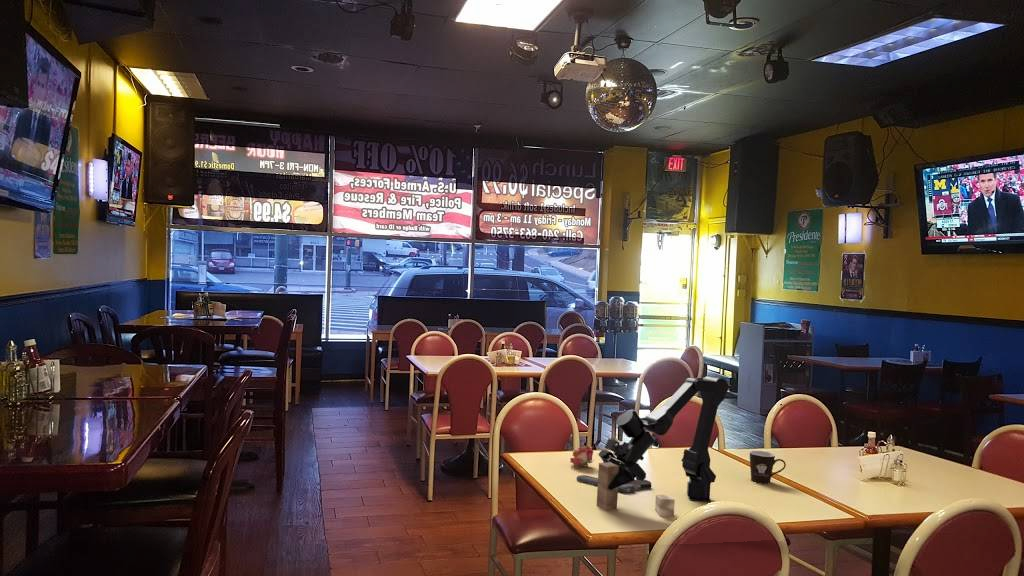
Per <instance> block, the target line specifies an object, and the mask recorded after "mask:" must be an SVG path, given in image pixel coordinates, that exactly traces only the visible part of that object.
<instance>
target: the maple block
mask: <svg viewBox="0 0 1024 576" xmlns="http://www.w3.org/2000/svg"><path fill="white" fill-rule="evenodd" d="M675 500H676V499H675V498H674V497H673V496H671V495H670V494H655V505H654V506H655V507H654V512H655V511H656V512H655V513H656V514H657V516H659V517H675Z"/></svg>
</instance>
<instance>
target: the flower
mask: <svg viewBox="0 0 1024 576" xmlns="http://www.w3.org/2000/svg"><path fill="white" fill-rule="evenodd" d="M593 454H594V449H593V446H591V447H590V446H588V445H583V446H582V447H579V448H577V449H574V451H572V457H570V461H569V462H570V463H572V465H573V466H574V465H575V466H574V467H582V466H585V467H586V469H589V468H590V466H589V464H592V463H593V462H594V460H593Z"/></svg>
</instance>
